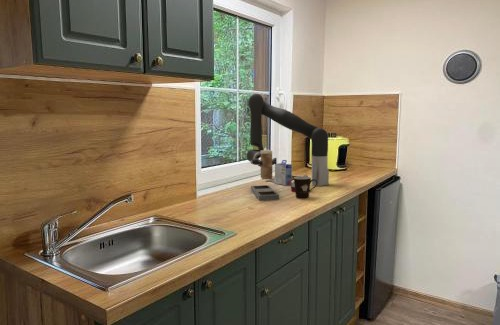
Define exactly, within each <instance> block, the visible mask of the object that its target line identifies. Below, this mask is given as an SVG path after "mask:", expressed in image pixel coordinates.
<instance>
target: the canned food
mask: <svg viewBox="0 0 500 325" xmlns="http://www.w3.org/2000/svg"><path fill="white" fill-rule="evenodd" d="M304 176H307V177H309V176H308V175H307V174H305V175H304ZM290 188H291V189H290V191H291V192H292V193H295V184H294V181H292V184H291V185H290Z"/></svg>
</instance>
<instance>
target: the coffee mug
mask: <svg viewBox="0 0 500 325" xmlns="http://www.w3.org/2000/svg"><path fill="white" fill-rule="evenodd" d="M307 176H308V175H307ZM307 176H305V175H301V176H294V177H293V182H294V184H295V192H294V193H295V198H296V199H302V200H303V199H308V198H310V192H311V191H312V190H314V189H315V188H316V187H318V186H317V180H315V179H313V180H314V181H316V185H313V187H312V188H311V184H312V181H313V180H312V176H308V177H307Z"/></svg>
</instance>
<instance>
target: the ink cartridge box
mask: <svg viewBox="0 0 500 325" xmlns="http://www.w3.org/2000/svg"><path fill="white" fill-rule="evenodd" d="M292 169H293V168H292V164H289V163H287V159H282V161H281V163H277V164H274V184H277V185H281V186H282V185H283V186H291V184H292V183H293V181H292V180H293V179H292V178H293V174H292V172H293V170H292Z"/></svg>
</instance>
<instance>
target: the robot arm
mask: <svg viewBox="0 0 500 325" xmlns="http://www.w3.org/2000/svg"><path fill="white" fill-rule="evenodd" d="M247 103H248V104H247V105H248V108H249V112H250V128H249V143H250V145H251V146H253V147H256V148H257V149H249V150H248V151H247V152H246V159H247V161H249V162H250V164H252V165H254V166H256V165H257V166H258V167H260V168H261V166H262V165H263V161H261V152H260V150H265V149H264V146H263V126H262V116H265V117H267V118H269V119H270V120H271V121H273V122H274V123H277V124H278V125H281V126H282V127H284V128H286V129H288V130H290V131H293V132H296V133H299V134H302V135H303V136H305V137H307V138H308V139H310V140H311V180H313V179H315V180H317V186H316V187H318V186H319V187H325V186H328V185H329V182H330V180H329V179H330V177H329V174H330V173H329V172H330V170H329V168H328V165H329V164H328V158H329V157H328V154H329V153H328V152H329V134H328V132H327V130H326V129H324V128H322V127H318V126H316V125H313V124H311V123H309V122H307V121H306V120H304V119H303V118H301V117H299V115H296V114H295V113H293V112H291V111H289V110H287V109H285V108H284V109H283V108H281V107H277V106H274V105H272V104H269V103H268V102H266V101H265V100H264V98H263V96H262V95H261V94H259V93H252V94H251V95H250V96H249V98H248V102H247ZM277 159H278V158H277V157H274V158H273V157H272V166H275V164H278V163H277V162H278V161H277ZM311 185H312V186H315V185H316V181H314V180H313V181H312V182H311Z"/></svg>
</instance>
